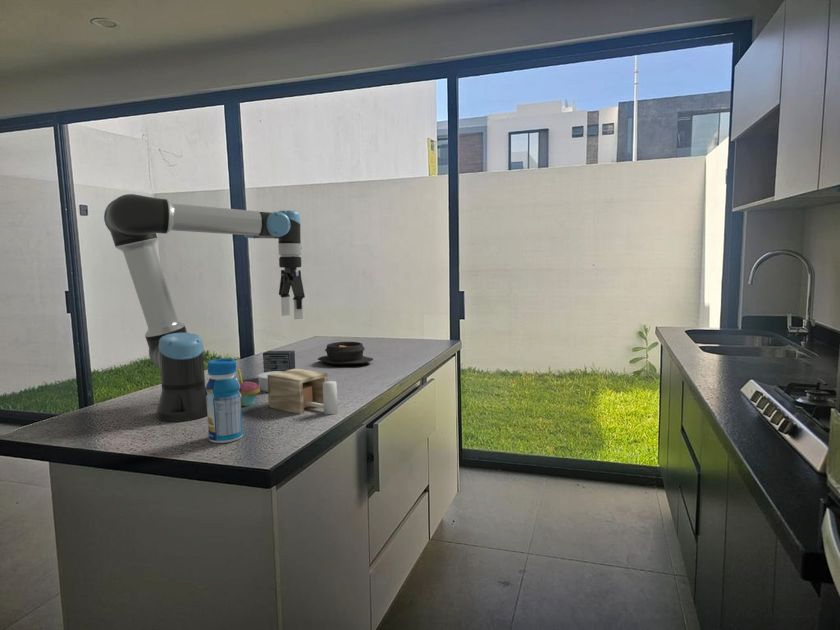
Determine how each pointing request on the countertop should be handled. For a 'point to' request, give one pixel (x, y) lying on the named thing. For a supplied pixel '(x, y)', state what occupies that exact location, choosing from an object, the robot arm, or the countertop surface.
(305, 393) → the tethered block
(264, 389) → the ramekin
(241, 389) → the cupcake
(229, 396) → the beverage bottle
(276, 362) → the small box
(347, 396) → the countertop surface
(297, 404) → the shelf slot
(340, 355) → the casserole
